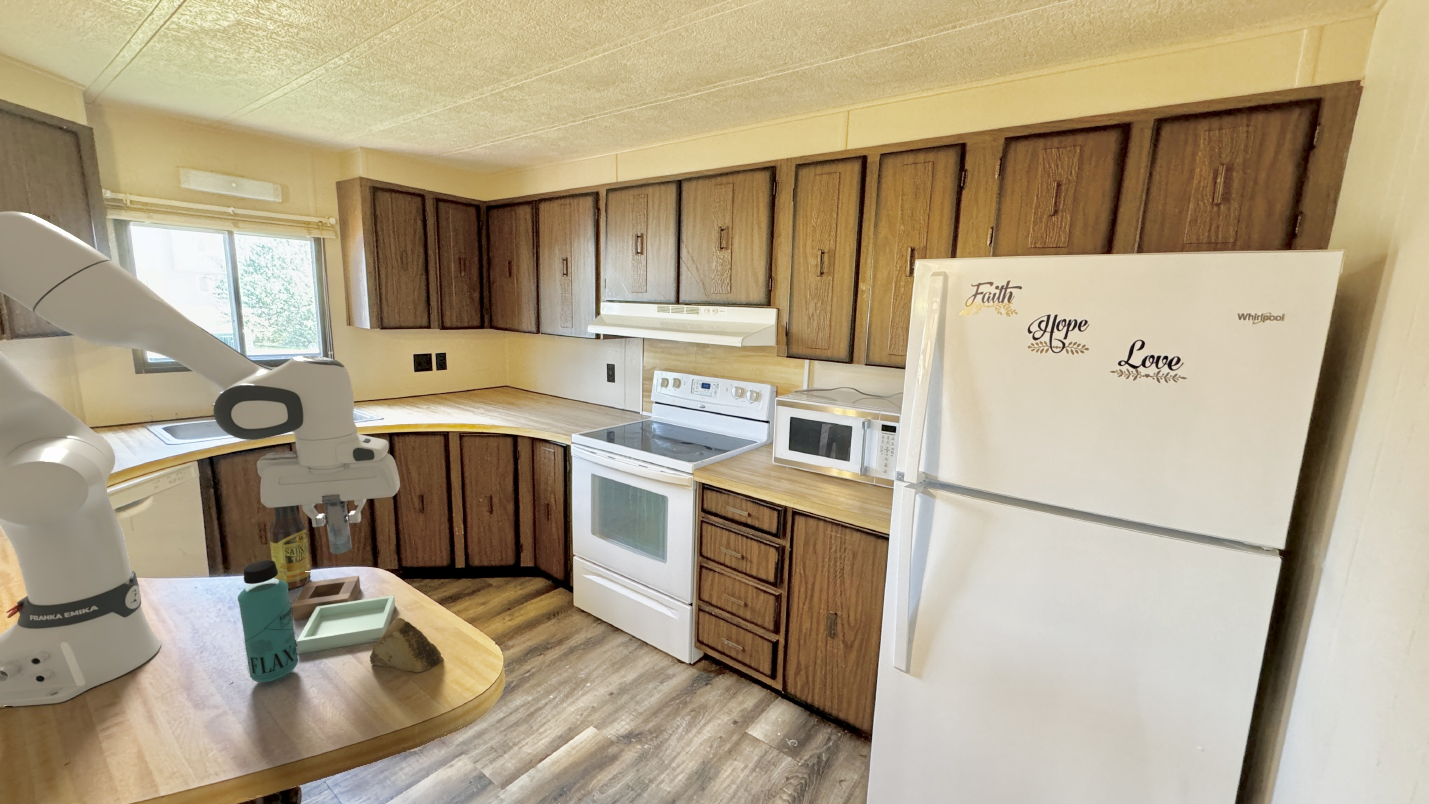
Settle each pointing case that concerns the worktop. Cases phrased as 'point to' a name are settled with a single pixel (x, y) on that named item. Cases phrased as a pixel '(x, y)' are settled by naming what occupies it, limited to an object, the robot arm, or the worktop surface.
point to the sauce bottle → (290, 546)
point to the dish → (346, 624)
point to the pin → (337, 524)
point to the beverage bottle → (267, 623)
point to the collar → (325, 595)
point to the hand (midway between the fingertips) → (337, 523)
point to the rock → (405, 649)
